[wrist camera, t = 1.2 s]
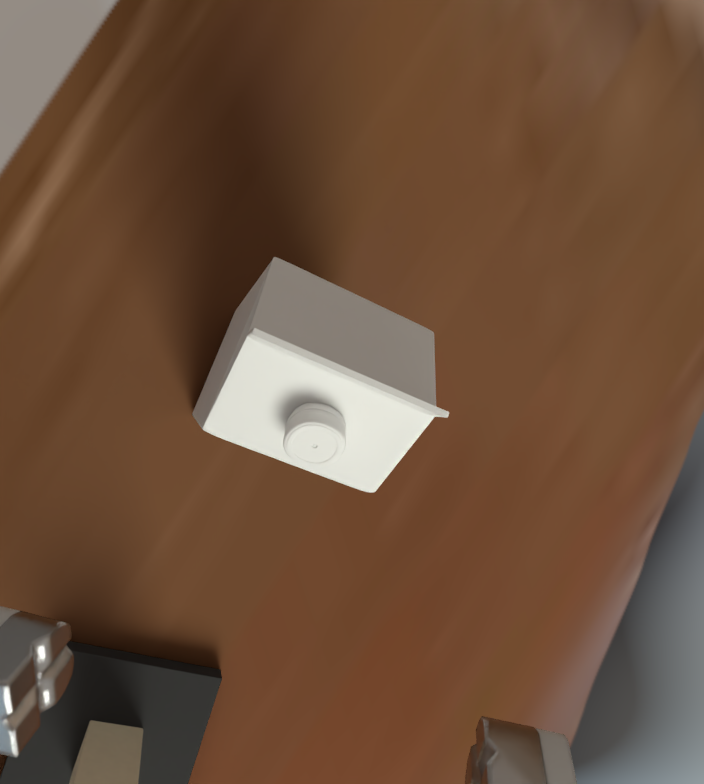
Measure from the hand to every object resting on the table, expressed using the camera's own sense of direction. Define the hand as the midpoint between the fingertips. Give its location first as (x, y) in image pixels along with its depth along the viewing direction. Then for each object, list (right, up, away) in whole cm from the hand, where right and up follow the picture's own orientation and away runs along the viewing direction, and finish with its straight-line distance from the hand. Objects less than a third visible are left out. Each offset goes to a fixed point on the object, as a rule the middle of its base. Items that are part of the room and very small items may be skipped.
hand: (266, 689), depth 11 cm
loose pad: (-13, -15, +23) cm, 30 cm away
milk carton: (-4, +6, +26) cm, 27 cm away
